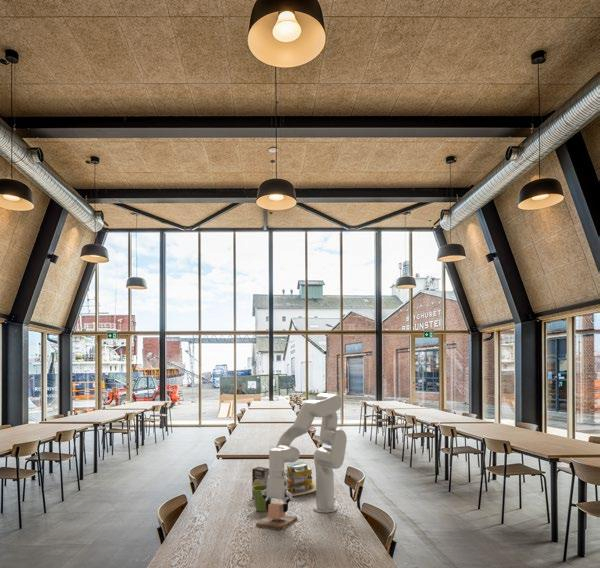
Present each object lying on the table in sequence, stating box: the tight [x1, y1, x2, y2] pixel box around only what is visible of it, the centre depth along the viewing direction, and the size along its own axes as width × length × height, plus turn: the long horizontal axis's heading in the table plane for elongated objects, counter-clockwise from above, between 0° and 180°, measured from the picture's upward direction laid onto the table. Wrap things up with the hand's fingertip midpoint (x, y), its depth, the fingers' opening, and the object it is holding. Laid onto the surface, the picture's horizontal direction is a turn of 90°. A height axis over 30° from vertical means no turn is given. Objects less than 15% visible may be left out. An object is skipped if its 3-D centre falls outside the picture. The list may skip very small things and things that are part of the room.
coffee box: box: [251, 466, 269, 499], centre depth 287 cm, size 9×6×16 cm
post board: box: [255, 514, 298, 532], centre depth 244 cm, size 16×14×8 cm
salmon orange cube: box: [267, 500, 286, 519], centre depth 245 cm, size 6×6×6 cm
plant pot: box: [251, 485, 272, 512], centre depth 265 cm, size 12×12×11 cm
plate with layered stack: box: [284, 460, 316, 496], centre depth 298 cm, size 25×25×17 cm
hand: (276, 510), depth 244 cm, fingers open, 9 cm apart
